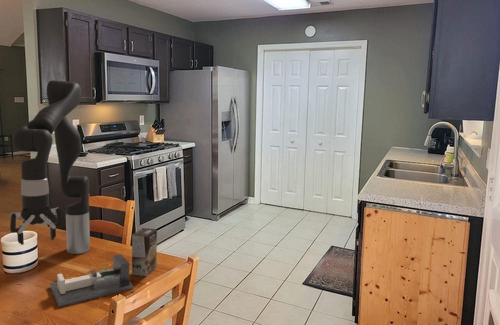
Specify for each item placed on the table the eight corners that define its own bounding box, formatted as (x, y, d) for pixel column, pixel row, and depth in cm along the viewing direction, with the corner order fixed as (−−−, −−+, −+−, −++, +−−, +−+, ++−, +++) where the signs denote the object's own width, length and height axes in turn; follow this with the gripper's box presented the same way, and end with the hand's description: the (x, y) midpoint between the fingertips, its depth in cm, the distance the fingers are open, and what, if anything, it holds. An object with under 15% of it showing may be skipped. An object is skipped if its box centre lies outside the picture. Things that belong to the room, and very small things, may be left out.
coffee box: (146, 276, 146) (147, 236, 144) (131, 274, 147) (131, 234, 145) (157, 266, 155) (157, 229, 153) (142, 265, 156) (142, 227, 154)
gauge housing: (49, 287, 135) (49, 264, 134) (118, 271, 149) (118, 251, 148) (58, 307, 122) (57, 282, 121) (132, 288, 136) (132, 266, 135)
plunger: (57, 287, 132) (57, 274, 131) (98, 278, 139) (97, 266, 139) (60, 294, 127) (60, 280, 126) (102, 284, 135) (102, 271, 134)
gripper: (57, 187, 127) (59, 234, 130) (7, 192, 119) (9, 242, 121) (62, 192, 122) (64, 241, 124) (10, 197, 113) (12, 249, 115)
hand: (37, 241), depth 123 cm, fingers open, 8 cm apart
